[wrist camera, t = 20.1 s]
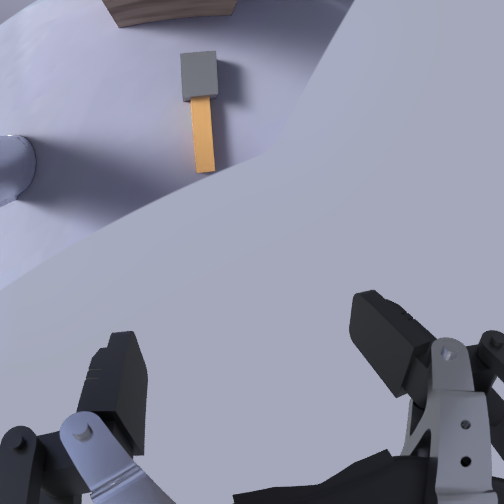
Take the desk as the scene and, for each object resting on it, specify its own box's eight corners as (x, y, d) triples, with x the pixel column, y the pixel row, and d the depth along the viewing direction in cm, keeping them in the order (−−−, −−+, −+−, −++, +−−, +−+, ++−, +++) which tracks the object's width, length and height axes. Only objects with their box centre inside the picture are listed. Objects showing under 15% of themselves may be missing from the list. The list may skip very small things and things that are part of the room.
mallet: (220, 168, 40) (224, 171, 36) (189, 172, 39) (189, 175, 36) (213, 59, 34) (215, 50, 30) (180, 61, 33) (180, 53, 30)
